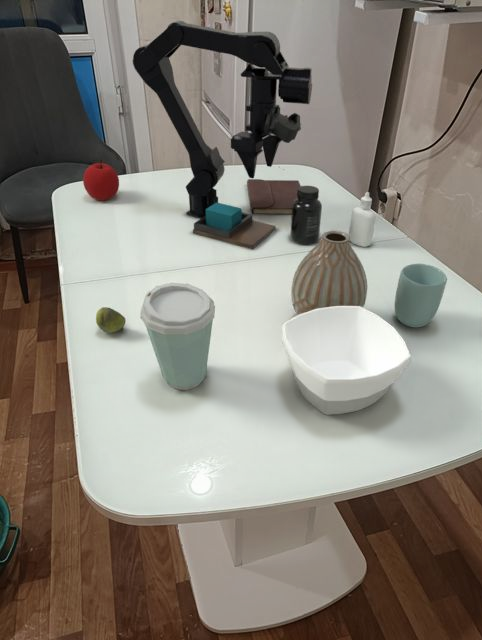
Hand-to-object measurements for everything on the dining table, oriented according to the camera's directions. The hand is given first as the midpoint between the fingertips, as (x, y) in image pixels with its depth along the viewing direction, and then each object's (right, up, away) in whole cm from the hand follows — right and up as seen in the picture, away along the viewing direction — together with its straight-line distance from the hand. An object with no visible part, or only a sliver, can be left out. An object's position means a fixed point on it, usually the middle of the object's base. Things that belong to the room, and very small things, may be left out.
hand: (260, 172), depth 121 cm
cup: (+28, -37, -25) cm, 53 cm away
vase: (+12, -37, -27) cm, 48 cm away
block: (-9, -12, +2) cm, 15 cm away
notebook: (+4, -1, +18) cm, 19 cm away
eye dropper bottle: (+23, -17, 0) cm, 29 cm away
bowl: (+12, -48, -40) cm, 64 cm away
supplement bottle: (+10, -16, 0) cm, 19 cm away
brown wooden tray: (-6, -14, +2) cm, 15 cm away
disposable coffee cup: (-12, -47, -40) cm, 63 cm away
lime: (-26, -39, -31) cm, 56 cm away
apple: (-42, -2, +15) cm, 45 cm away
